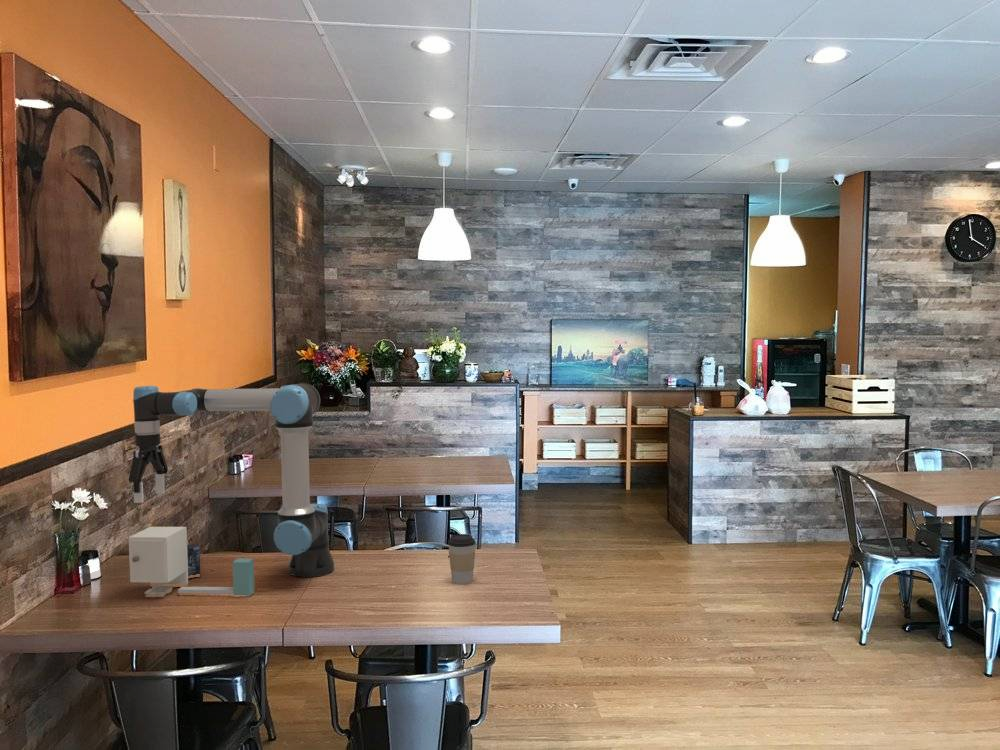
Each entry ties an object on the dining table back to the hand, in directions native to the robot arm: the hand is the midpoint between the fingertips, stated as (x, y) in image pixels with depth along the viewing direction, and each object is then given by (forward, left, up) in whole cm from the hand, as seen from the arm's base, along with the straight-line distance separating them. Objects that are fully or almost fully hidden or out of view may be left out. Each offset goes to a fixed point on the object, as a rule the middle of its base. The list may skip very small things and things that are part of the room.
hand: (149, 498), depth 256 cm
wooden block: (-8, +12, -28) cm, 32 cm away
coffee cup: (-102, -4, -28) cm, 106 cm away
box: (-9, -4, -28) cm, 30 cm away
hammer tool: (-27, +12, -28) cm, 40 cm away
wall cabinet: (-8, +11, -28) cm, 31 cm away
